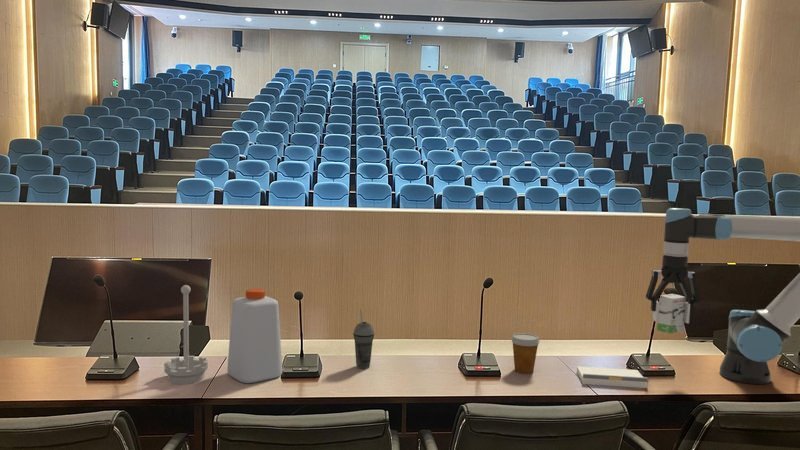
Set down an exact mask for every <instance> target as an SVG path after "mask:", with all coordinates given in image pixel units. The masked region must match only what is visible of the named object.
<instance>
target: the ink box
mask: <svg viewBox="0 0 800 450" xmlns="http://www.w3.org/2000/svg"><path fill="white" fill-rule="evenodd" d="M658 302H659V314H658V322H656V323H657V324H656V326H657V327H656V330H657V331H658V332H662V333H666V334H670V335H671V334H674V333H678V332H684V331H685V330H684V329H685V322H684V316H685V302H687V299H686V297H685V295H684V296H683V295H680V294H676V293H668V294H661V295H660V298H659V299H658Z"/></svg>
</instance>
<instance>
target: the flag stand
mask: <svg viewBox="0 0 800 450" xmlns="http://www.w3.org/2000/svg"><path fill="white" fill-rule="evenodd" d="M191 291H192V290H191V287H190V286H189V285H188V284H184V285H183V286H181V288H180V293H182V296H183V297H182V302H183V304H182V305H183V306H182V307H183V308H182V309H183V311H182V312H183V313H182V314H183V318H182V319H183V320H182V321H183V359H180V356H176V357H173V358H170V361H169V360H167V361H165V362H164V369H163V371H164V373H165V374H166V375H167V381H168V383H170V384H174V385H189V384H196V383H198V382H201V381H203V380H204V379H205V377H206V376H205V373H206V371H207V370H208V369H209V359H208V360H207V357H204V356H199V357H198V359H197V358H195V357H196V356H195V355H190V351H189V350H190V349H189V348H190V343H189V342H190V340H189V339H190V338H189V332H190V331H189V329H190V328H189V321H190V319H189V315H190V314H189V294H190V293H191Z"/></svg>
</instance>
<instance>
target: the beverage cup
mask: <svg viewBox="0 0 800 450" xmlns="http://www.w3.org/2000/svg"><path fill="white" fill-rule="evenodd" d="M359 312H360V322H359V323H358V324H356V325H355V327H354V330H353V333H352V335H353V339H354V349H355V350H354V351H355V364H356V368H357V369H361V370H366V369H369V368H370V367H371V361H372V360H371V359H372V351H373V350H372V349H373V341H374V338H375V331H374V327H373V326H372V325H371V324H370V323H369V322H366V321H364V320H363V312H362V309H359Z"/></svg>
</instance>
